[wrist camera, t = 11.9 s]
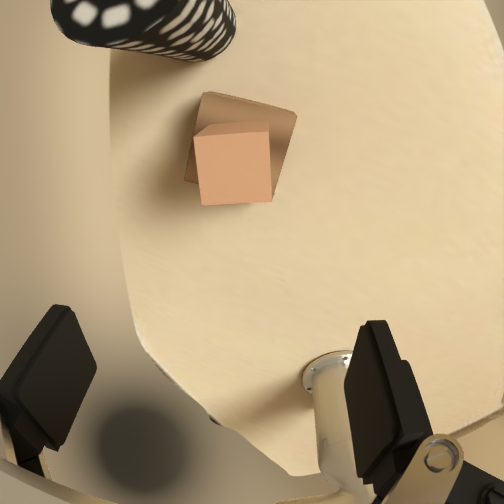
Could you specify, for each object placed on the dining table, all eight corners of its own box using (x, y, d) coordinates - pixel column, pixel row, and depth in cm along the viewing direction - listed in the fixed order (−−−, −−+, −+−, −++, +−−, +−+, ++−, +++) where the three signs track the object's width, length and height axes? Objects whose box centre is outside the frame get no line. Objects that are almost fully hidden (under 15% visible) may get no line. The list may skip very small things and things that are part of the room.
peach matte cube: (268, 120, 28) (268, 131, 22) (271, 176, 31) (272, 202, 25) (209, 124, 28) (193, 137, 22) (215, 178, 31) (201, 205, 25)
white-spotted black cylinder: (234, -11, 25) (197, -101, 8) (238, 58, 29) (199, 28, 12) (158, 0, 25) (54, -56, 8) (161, 66, 30) (51, 64, 12)
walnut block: (270, 186, 36) (271, 202, 32) (194, 167, 36) (184, 180, 31) (293, 111, 32) (297, 116, 28) (211, 91, 31) (202, 93, 27)
